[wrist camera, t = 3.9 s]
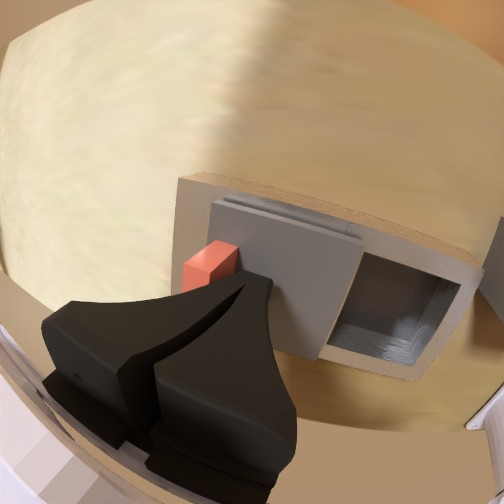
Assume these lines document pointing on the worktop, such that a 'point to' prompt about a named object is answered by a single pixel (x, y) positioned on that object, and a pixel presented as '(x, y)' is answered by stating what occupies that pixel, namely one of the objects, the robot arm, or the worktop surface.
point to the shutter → (280, 270)
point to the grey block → (495, 273)
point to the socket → (354, 275)
